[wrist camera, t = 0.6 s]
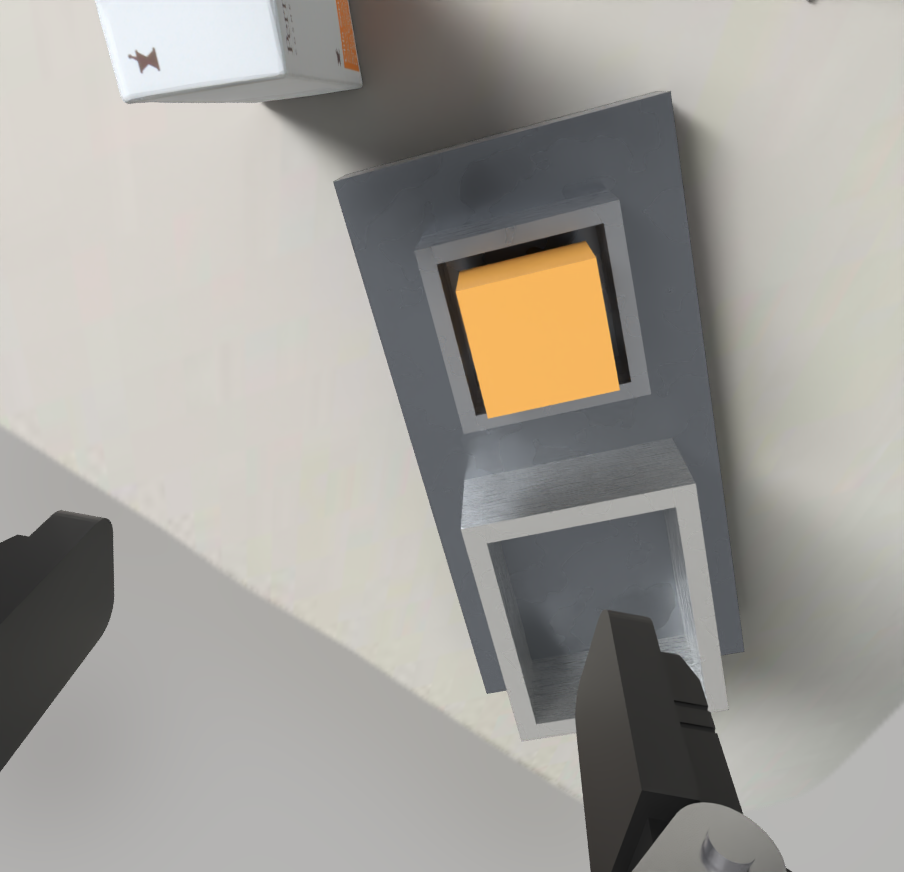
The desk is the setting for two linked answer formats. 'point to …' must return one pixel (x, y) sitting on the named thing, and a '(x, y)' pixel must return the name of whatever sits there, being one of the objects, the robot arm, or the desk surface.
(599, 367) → the button
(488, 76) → the desk surface
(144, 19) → the skincare box
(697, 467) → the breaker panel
